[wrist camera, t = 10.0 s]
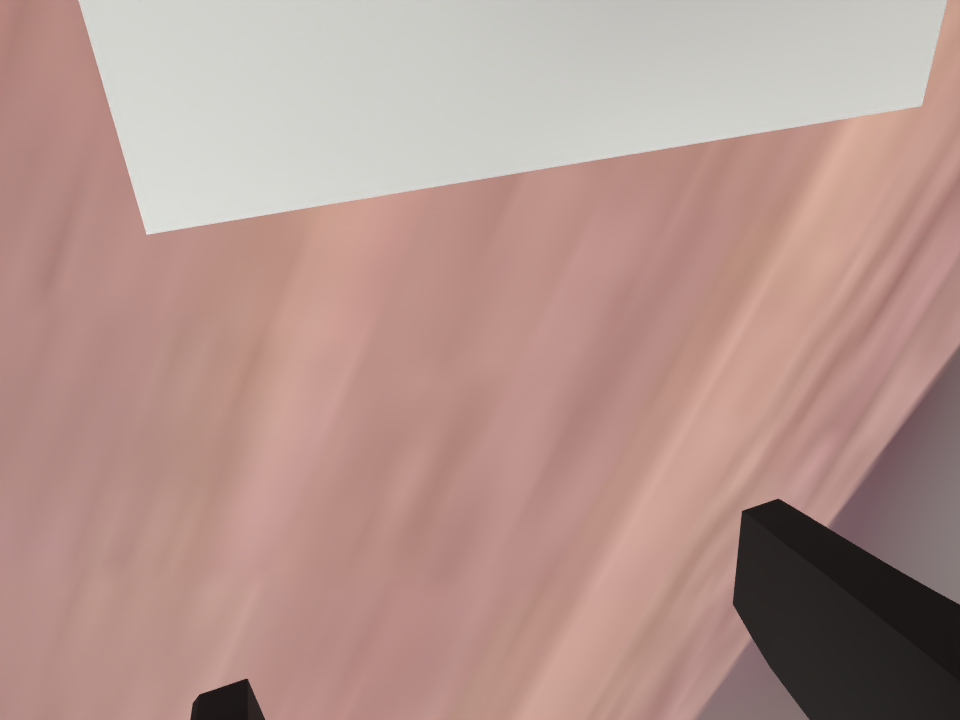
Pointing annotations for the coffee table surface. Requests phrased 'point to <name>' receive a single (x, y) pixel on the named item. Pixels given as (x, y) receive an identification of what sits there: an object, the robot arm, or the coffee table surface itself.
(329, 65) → the socket block
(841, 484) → the coffee table surface
